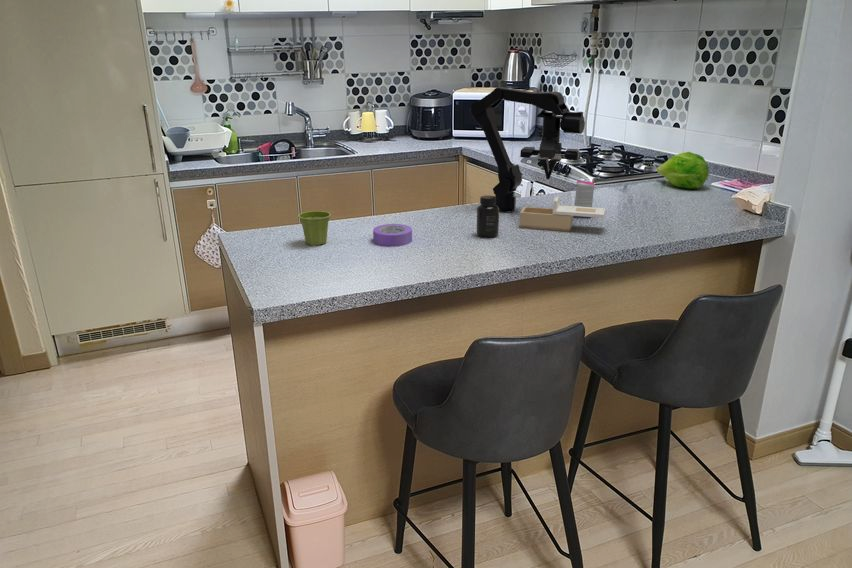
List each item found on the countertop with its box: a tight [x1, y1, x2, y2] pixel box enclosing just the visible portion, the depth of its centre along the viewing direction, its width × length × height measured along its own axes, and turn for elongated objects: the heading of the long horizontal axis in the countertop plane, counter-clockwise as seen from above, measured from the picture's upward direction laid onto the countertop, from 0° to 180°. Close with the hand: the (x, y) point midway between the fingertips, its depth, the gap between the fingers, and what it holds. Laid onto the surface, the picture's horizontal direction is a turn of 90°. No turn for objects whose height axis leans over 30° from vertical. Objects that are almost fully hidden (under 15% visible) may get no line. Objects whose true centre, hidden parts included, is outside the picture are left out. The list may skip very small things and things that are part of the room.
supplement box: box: [573, 180, 595, 219], centre depth 225 cm, size 6×6×12 cm
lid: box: [552, 195, 607, 219], centre depth 210 cm, size 16×8×4 cm, turn 73°
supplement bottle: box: [476, 195, 500, 239], centre depth 204 cm, size 7×7×12 cm
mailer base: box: [518, 206, 574, 233], centre depth 214 cm, size 16×8×5 cm, turn 73°
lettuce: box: [656, 151, 710, 190], centre depth 269 cm, size 15×22×15 cm
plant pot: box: [297, 210, 332, 246], centre depth 198 cm, size 9×9×9 cm
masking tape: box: [372, 223, 413, 247], centre depth 201 cm, size 12×12×4 cm
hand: (548, 179), depth 224 cm, fingers closed
